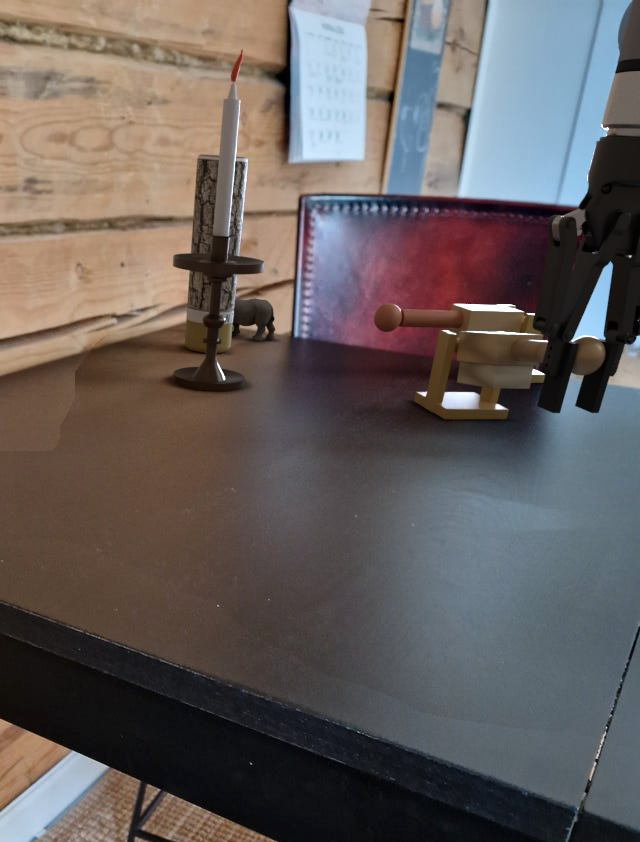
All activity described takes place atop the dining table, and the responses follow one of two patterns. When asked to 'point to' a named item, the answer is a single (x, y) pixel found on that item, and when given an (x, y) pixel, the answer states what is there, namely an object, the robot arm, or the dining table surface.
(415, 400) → the bracket near
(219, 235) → the candlestick
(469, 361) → the brush near
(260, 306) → the rhino figurine
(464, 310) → the brush far
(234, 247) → the paper tube
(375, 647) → the dining table surface
